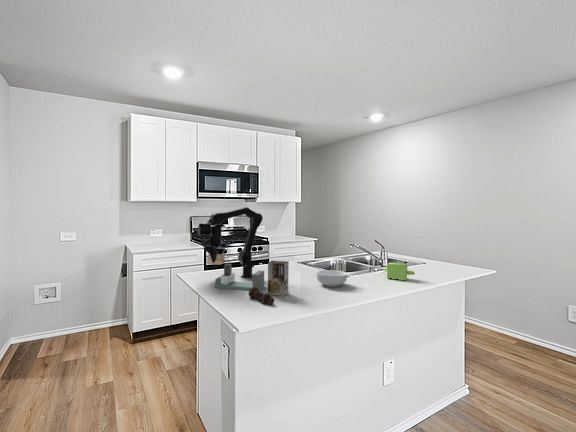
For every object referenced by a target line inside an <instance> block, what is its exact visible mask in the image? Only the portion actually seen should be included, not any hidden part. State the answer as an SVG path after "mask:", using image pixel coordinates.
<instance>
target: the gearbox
mask: <svg viewBox="0 0 576 432" xmlns="http://www.w3.org/2000/svg"><path fill="white" fill-rule="evenodd" d="M408 266H409V265H408V264H407V263H400V262H388V263H387V267H383V272H386V279H388V278H392V279H391V280H393V279H399V280H398V281H400V280H407V279H406V278H408V276H409V275H411V276H412V275H413V276H414V275H415V274H416V273H415V271H414V270H408Z"/></svg>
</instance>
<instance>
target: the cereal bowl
mask: <svg viewBox="0 0 576 432" xmlns="http://www.w3.org/2000/svg"><path fill="white" fill-rule="evenodd" d="M347 278H348V273H347V272H346V271H342V270H333V269H324V270H318V271H316V279H317V281H318V282H319V283H320V284H323V285H324V286H325V285H326V286H325V287H328V286H330V287H329V288H335V287H336V286H337V287H339V286H341V285H343V284H345V283H346V282H347Z"/></svg>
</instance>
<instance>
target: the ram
mask: <svg viewBox="0 0 576 432" xmlns="http://www.w3.org/2000/svg"><path fill="white" fill-rule="evenodd" d="M223 264H224V265H223V274H222V275H220V276H221V284H223V285H229V284H230V283H232V282H234V281H236V280H235V279H236V278H235V277H236V276H235V275H236V273H235V272H233V271H232V267H233V266H232V263H223Z"/></svg>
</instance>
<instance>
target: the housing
mask: <svg viewBox="0 0 576 432" xmlns="http://www.w3.org/2000/svg"><path fill="white" fill-rule="evenodd" d="M206 260H207V261H206V263H207V265H216V266H217V265H218V266H219V265H223V264H226V263H225V254H224V253H223V254H217V256H216V260H215V263H213V262H212V259H211V256H210V254H207V259H206Z"/></svg>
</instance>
